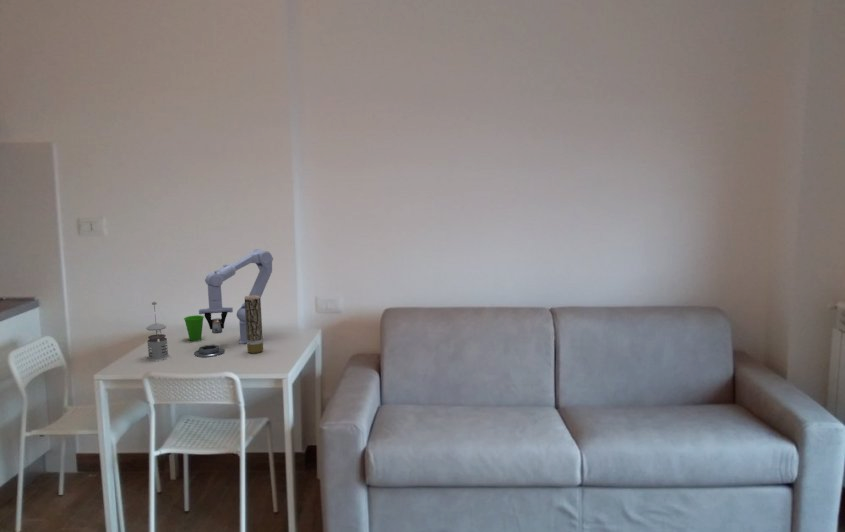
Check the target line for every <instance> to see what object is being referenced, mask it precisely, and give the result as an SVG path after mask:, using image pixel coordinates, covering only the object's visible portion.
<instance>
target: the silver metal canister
mask: <svg viewBox="0 0 845 532" xmlns="http://www.w3.org/2000/svg"><path fill="white" fill-rule="evenodd" d="M211 323H212V329H211V334H215V335H216V334H221V333H223V329H222V318H220V317H219V318H211Z"/></svg>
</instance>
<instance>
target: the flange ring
mask: <svg viewBox="0 0 845 532" xmlns="http://www.w3.org/2000/svg"><path fill="white" fill-rule="evenodd" d="M225 351H226V350H225V348H221V347H220V345H216V344H207V345H203V346H199V348H198V350H196V351H195V352H193V356H194V355H195V357H196V356H197V358H213V356H214V357H218V356H221V355H223V354H224V353H225ZM220 354H221V355H220ZM217 355H218V356H217Z"/></svg>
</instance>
